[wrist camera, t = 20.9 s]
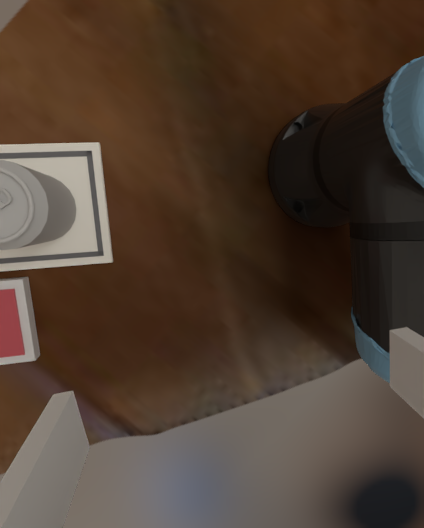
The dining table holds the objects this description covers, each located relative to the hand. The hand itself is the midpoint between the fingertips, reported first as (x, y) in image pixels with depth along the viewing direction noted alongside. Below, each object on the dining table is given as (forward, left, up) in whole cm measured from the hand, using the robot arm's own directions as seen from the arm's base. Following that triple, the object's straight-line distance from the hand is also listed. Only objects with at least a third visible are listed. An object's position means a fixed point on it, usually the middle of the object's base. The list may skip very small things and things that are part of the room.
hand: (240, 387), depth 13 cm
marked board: (+16, -9, -29) cm, 34 cm away
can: (+16, -9, -28) cm, 33 cm away
